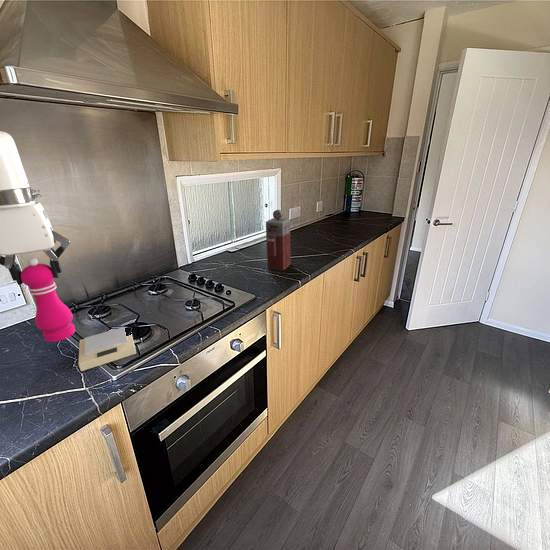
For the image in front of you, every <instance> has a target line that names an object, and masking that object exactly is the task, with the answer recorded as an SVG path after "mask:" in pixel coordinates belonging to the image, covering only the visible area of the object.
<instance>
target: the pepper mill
mask: <svg viewBox="0 0 550 550" xmlns="http://www.w3.org/2000/svg"><path fill="white" fill-rule="evenodd" d="M27 264H28V266H26V267H24V268H23V269H21V271H22V272H21V280H22V282H23V284H24V285H25V286H27V287H28V288H27V290H28V291H29V294H30V295H32V296H33V298H34V300H35V303H36V311H35V317H34V319H35V320H34V322H35V326H36V328H37V329H38V330H40V331H42V337H43V339H44V341H46V342H48V343H55V342H61V341H63V340H66V339H68V338H69V337H71V336H73V335H74V334H75V332H76V327H75V324H74V323H73V322H72V321H73V318H74V315H73V313H72V311H71V309H70V308H69V307H68V306H67V305H66V304H65V303H64V302H63V301H62V300H61V299H60V298H59V295H58V294H57V291H56V289H57V285H56V282H55V281H54V279H55V277H54V274H53V272H52V269H51V266H50V265H48V264H45V263H39V261H38V259H37V258H35V257H31V258H29V259H27Z"/></svg>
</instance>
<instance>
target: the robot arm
mask: <svg viewBox="0 0 550 550" xmlns="http://www.w3.org/2000/svg"><path fill="white" fill-rule="evenodd" d="M41 197H42V193H41V190H39V189H37V190H36V189H34V188H33V189H32V187H31V186H30V183H29V180H28V177H27V174H26V171H25V168H24V166H23V163H22V160H21V156H20V154H19V151H18V148H17V145H16V142H15V140H14V138H13V136H12V135H11V134H9V133H8V132H6V131H1V130H0V266H3V267H4V268H5V269H8V271H9V274H10V277H11V279H12V281H13V282H16V284H17V285H18V286H22V284H24V283H23V282H22V280H21V272H22V269H21V266H20V264H19V263H17V262H16V255H21V254H30V253H37V252H41V251H43V253H44V254H45V255H46V256H47V258H49V266H50V267H51V269H52V272H53V274H54V279H59V278H60V274H61V273H63V269H62V266H61V263H60V260H59V258H60V257H61V256H62V254H63V253H64V252H65V250H67V248H68V246H70V245H71V239H69V238H67V237H65V236H63V235H62V234H60V233H58V232H56V231H54V229H53V226H52V224H51V221H50V219H49V216H48V214H47V212H46V210H45V209H44V207H43V205H42V203H41V202H40V201H36V199H38V198H41ZM57 242H59V243H60V245H59V246H57V248H56V249H55V248H54V247H55V245H56V243H57Z"/></svg>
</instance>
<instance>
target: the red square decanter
mask: <svg viewBox="0 0 550 550" xmlns="http://www.w3.org/2000/svg"><path fill="white" fill-rule="evenodd" d="M272 217H273V218H270V219H268V220H267V221H265V235H266V236H265V239H266V240H265V241H266V260H267V261H266V263H267V269H272V270H279V271H285V270H286V269H287V268H288V267H290V265H292V264H291V263H292V262H291V219H290V218H287V217H284V213H283V211H282V210H281V209H276V210H274V211H273V212H272ZM283 217H284V218H283Z"/></svg>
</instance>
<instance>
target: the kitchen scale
mask: <svg viewBox="0 0 550 550" xmlns="http://www.w3.org/2000/svg"><path fill="white" fill-rule="evenodd" d="M125 327H126V326H123V327H119V328H115V329H112V330H108V331H104V332H100V333H97V334H94V335H90V336H86V337H84V338H83V339H80V340H79V346H78V347H79V350H78V367H79V370H80V372H83V371H86V370H89V369H94V368H96V367H99V366H102V365H106V364H109V363H111V362H115V361H118V360H121V359H123V358H128V357H130V356H133V355H136V354H137V350H136V346H135V341H134V337H133V333H132V334H131V335H129V336H126V332H125Z"/></svg>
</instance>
